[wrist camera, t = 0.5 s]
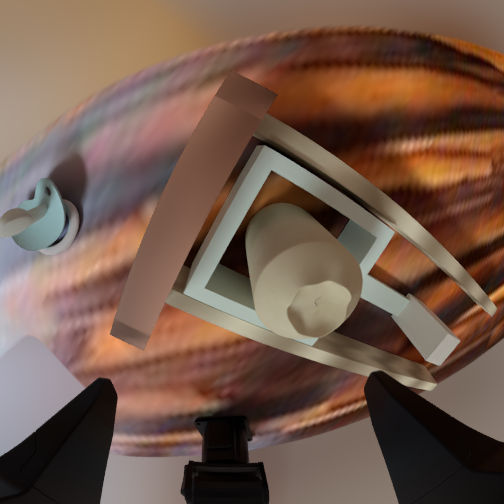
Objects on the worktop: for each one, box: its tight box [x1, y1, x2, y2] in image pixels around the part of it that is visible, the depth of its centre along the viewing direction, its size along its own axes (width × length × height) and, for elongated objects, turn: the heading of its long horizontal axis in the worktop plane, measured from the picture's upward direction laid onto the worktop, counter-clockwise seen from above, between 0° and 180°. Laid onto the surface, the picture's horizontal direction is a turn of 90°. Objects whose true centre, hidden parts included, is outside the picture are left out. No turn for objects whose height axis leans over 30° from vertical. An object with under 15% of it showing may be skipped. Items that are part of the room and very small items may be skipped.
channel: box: [110, 71, 497, 391], centre depth 19 cm, size 36×13×9 cm, turn 60°
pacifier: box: [0, 178, 79, 255], centre depth 16 cm, size 7×6×6 cm
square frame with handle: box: [183, 145, 460, 366], centre depth 19 cm, size 22×10×7 cm, turn 60°
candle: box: [245, 203, 363, 339], centre depth 16 cm, size 6×6×10 cm
